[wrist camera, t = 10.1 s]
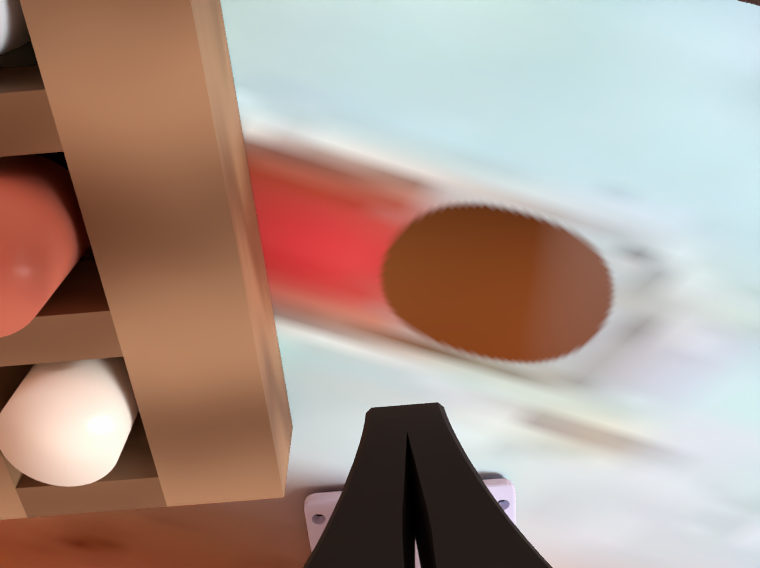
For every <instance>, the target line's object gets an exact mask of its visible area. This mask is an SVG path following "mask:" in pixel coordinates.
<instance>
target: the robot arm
mask: <svg viewBox="0 0 760 568" xmlns="http://www.w3.org/2000/svg"><path fill="white" fill-rule="evenodd" d="M500 500H506V501H504V502H498V501H500ZM304 513H305V519H306V525H307V530H308V536H309V542H310V548H311V555H310V557H309V558H308V560H307V562H306V563H305V565H304V567H303V568H552V567H551V566H550V564H549V563H548V562H547V561H546V560H545V559H544V558H543V557H542V556H541V555H540V554H539V553H538V551H537V550H536V549H535V548H534V547H533V546H532V545H531V543H530V542H529V541H528V540H527V539H526V538H525V537H524V535H523V534H522V533H521V532H520V530H519V529H518V528H517V527H516V526H515V516H516V492H515V488H514V484H513V483H512V482H511V481H510V480H508V479H488V480H482V479H481V477H480V476H479V474H478V472H477V471H476V469H475V468H474V466H473V465H472V463H471V462H470V460H469V458H468V457H467V455H466V453H465V451H464V450H463V448H462V446H461V444H460V442H459V440H458V439H457V437H456V435H455V433H454V431H453V429H452V427H451V424H450V422H449V420H448V417H447V415H446V412H445V409H444V407H443V406H442V405H440V404H439V403H438V402H437V403H425V404H412V405H400V406H387V407H375V408H371V409H370V410H369V411H368V412H367V413H366V416H365V424H364V428H363V433H362V437H361V440H360V444H359V447H358V450H357V453H356V456H355V459H354V462H353V465H352V467H351V470H350V472H349V475H348V478H347V480H346V483H345V485H344V488H343V490H342V491H336V492H323V493H314V494H311V495H309V496H307V498H306V499H305V503H304ZM317 514H321V515H323V516H321V517H318V516H315V515H317Z"/></svg>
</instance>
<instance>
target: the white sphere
mask: <svg viewBox="0 0 760 568" xmlns="http://www.w3.org/2000/svg"><path fill="white" fill-rule="evenodd" d="M30 40H31V38H30V35H29V31H28V28H27V24H26V21H25V18H24V14H23V11H22V7H21V4H20V0H0V55H1V54H4V53H6V52H8V51H11V50H13V49H15V48H18V47H20V46H22V45H24V44H26V43H27V42H29V41H30Z"/></svg>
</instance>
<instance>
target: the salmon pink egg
mask: <svg viewBox="0 0 760 568" xmlns="http://www.w3.org/2000/svg"><path fill="white" fill-rule="evenodd" d="M89 246H90V240H89V237H88V234H87V230H86V227H85V223H84V220H83V216H82V213H81V210H80V206H79V203H78V199H77V196H76V192H75V189H74V186H73V182H72V179H71V175H70V172H69V171H67V170H66V169H65V168H63V167H62V166H60V165H59V164H57V163H55V162H53V161H51V160H49V159H46V158H43V157H40V156H36V155H32V154H27V155H16V156H4V157H0V337H4V336H8V335H11V334H13V333H15V332H18V331H19V330H21V329H23V328H24V327H25V326H27V325H28V324H29V323H30V322H31V321H32V320H33V319H34V317H35V316H36V315H37V314H38V312H39V311H40V310H41V308H42V307H43V306H44V305H45V303H46V302H47V301H48V299H49V298H50V297H51V296H52V294H53V293H54V292H55V290H56V289H57V288H58V287H59V285H60V284H61V283H62V281H63V280H64V279H65V278H66V276H67V275H68V274H69V272H70V271H71V270H72V268H73V267H74V266H75V265H76V263H77V262H78V261H79V259H80V258H81V257H82V256H83V254H84V253H85V252H86V250H87V249H88V248H89Z"/></svg>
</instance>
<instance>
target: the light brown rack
mask: <svg viewBox="0 0 760 568" xmlns="http://www.w3.org/2000/svg"><path fill="white" fill-rule="evenodd" d="M20 4H21V7H22V11H23V14H24V18H25V21H26V24H27V28H28V31H29V35H30V38H31V42H32V45H33V48H34V52H35V55H36V59H37V62H38V65H35V66H24V67H12V68H1V69H0V157H4V156H16V155H27V154H39V153H51V152H63V151H64V155H65V158H66V162H67V165H68V168H69V172H70V175H71V179H72V182H73V186H74V189H75V192H76V196H77V199H78V203H79V206H80V210H81V213H82V216H83V220H84V223H85V227H86V230H87V234H88V237H89V240H90V244H91V247H92V251H93V254H94V258H95V259H94V260H82V261H78V262H77V263H76V265H75V266H74V267H73V268H72V270H71V271H70V272H69V274H68V275H67V276H66V278H65V279H64V280H63V281H62V283H61V284H60V285H59V287H58V288H57V289H56V290H55V292H54V293H53V294H52V296H51V297H50V298H49V299H48V301H47V302H46V303H45V305H44V306H43V307H42V308H41V310H40V311H39V312H38V314H37V315H36V316H35V317H34V319H33V320H32V321H31V322H30V323H29V324H28V325H27V326H25V327H24V328H23V329H21V330H19V331H18V332H15V333H13V334H11V335H8V336H4V337H0V413H1V411H2V410H3V408H4V407H5V405H6V404H7V403H8V401H9V400H10V398H11V397H12V395H13V394H14V392H15V391H16V390H17V388H18V387H19V385H20V384H21V382H22V381H23V380H24V378H25V377H26V375H27V374H28V372H29V371H30V370H31V368H32V367H33V365H34V364H39V363H52V362H64V361H76V360H88V359H101V358H113V357H124V360H125V364H126V367H127V371H128V374H129V378H130V381H131V384H132V388H133V391H134V395H135V398H136V402H137V405H138V408H139V412H138V414H137V417H136V419H135V421H134V424H133V426H132V428H131V431H130V433H129V435H128V438H127V440H126V442H125V445H124V447H123V449H122V452H121V454H120V456H119V459H118V461H117V463H116V465H115V466H114V468H113V469H112V470H111V471H110V472H109V473H108V474H107V475H106V476H104V477H103V478H101V479H99V480H97V481H95V482H93V483H90V484H86V485H81V486H70V487H66V486H56V485H51V484H47V483H43V482H40V481H37V480H35V479H33V478H31V477H29V476H27V475H25V474H24V473H22V472H21V471H19V470H18V469H16V468H15V467H14V466H13V465H12V464H11V463H10V462H9V461H8V460H7V459H6V458H5V456H4V455H3V453H2V452H1V450H0V520H6V519H19V518H31V517H44V516H57V515H69V514H82V513H95V512H107V511H120V510H133V509H145V508H158V507H171V506H184V505H196V504H209V503H222V502H234V501H247V500H260V499H272V498H284V493H285V485H286V477H287V469H288V461H289V453H290V445H291V436H292V428H293V426H292V421H291V415H290V409H289V403H288V397H287V391H286V385H285V380H284V374H283V368H282V362H281V356H280V350H279V344H278V338H277V333H276V327H275V321H274V315H273V309H272V303H271V297H270V291H269V286H268V280H267V274H266V268H265V262H264V256H263V250H262V244H261V239H260V233H259V227H258V221H257V215H256V209H255V203H254V197H253V192H252V186H251V180H250V174H249V168H248V162H247V156H246V151H245V145H244V139H243V133H242V127H241V121H240V115H239V109H238V104H237V98H236V92H235V86H234V80H233V74H232V68H231V62H230V57H229V51H228V45H227V39H226V33H225V27H224V21H223V15H222V10H221V4H220V0H20Z"/></svg>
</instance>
